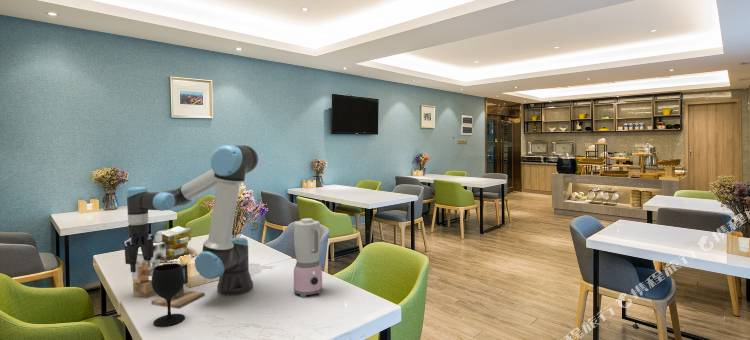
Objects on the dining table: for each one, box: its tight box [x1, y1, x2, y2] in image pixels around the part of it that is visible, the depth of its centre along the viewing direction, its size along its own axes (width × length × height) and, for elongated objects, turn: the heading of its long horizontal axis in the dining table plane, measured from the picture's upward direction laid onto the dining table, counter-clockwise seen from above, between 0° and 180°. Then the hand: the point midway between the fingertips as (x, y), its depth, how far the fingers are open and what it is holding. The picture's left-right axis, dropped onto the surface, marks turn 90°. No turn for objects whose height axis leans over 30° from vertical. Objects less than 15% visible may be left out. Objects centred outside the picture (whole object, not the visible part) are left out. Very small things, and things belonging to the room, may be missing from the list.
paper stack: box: [153, 225, 198, 263], centre depth 229 cm, size 25×25×17 cm
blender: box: [293, 217, 323, 298], centre depth 170 cm, size 16×12×32 cm
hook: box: [132, 263, 153, 283], centre depth 168 cm, size 19×4×7 cm, turn 73°
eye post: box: [174, 263, 189, 299], centre depth 164 cm, size 2×8×13 cm, turn 163°
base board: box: [151, 289, 206, 309], centre depth 164 cm, size 14×14×1 cm
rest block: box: [132, 279, 157, 299], centre depth 170 cm, size 7×5×6 cm
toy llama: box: [136, 231, 166, 270], centre depth 202 cm, size 8×18×20 cm, turn 63°
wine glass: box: [151, 262, 186, 328], centre depth 144 cm, size 10×10×20 cm
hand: (140, 277), depth 170 cm, fingers closed on hook, 4 cm apart
